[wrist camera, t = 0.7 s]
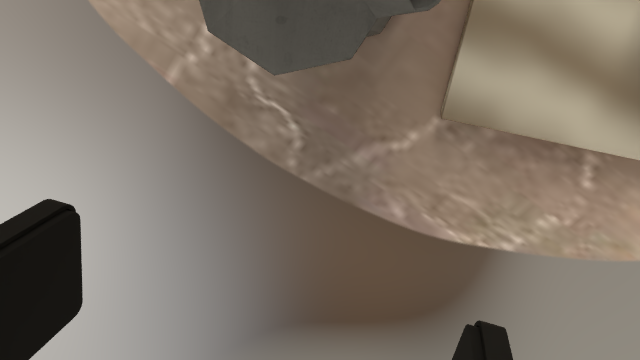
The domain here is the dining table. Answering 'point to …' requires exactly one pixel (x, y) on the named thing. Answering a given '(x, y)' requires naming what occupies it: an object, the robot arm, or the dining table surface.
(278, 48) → the coffeepot
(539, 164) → the dining table surface
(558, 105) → the dial board
